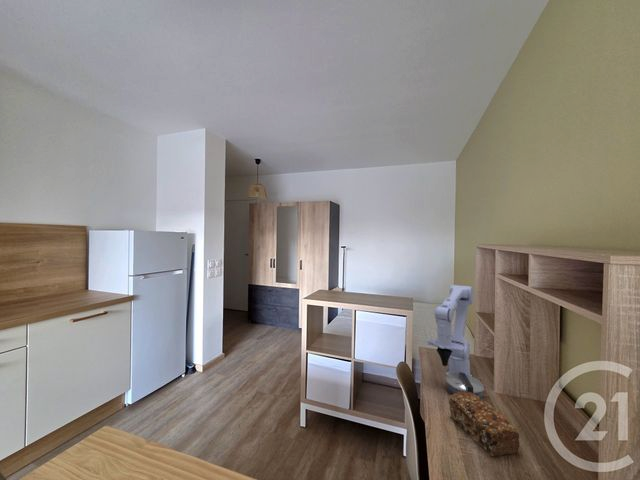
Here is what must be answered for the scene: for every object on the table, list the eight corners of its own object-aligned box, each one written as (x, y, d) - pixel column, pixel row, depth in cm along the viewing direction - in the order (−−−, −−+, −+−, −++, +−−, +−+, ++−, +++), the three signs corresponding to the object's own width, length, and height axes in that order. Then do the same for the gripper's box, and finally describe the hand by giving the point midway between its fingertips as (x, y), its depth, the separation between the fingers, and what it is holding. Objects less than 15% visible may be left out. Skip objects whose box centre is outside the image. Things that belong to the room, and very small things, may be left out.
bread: (448, 417, 91) (447, 389, 91) (473, 413, 93) (473, 386, 93) (491, 460, 73) (490, 426, 73) (522, 454, 74) (521, 421, 75)
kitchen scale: (443, 382, 114) (443, 373, 114) (477, 386, 110) (477, 377, 110) (453, 407, 96) (452, 396, 96) (493, 413, 92) (492, 402, 92)
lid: (442, 373, 114) (442, 366, 114) (477, 377, 110) (476, 370, 110) (451, 392, 99) (450, 384, 99) (490, 397, 95) (490, 389, 95)
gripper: (424, 332, 112) (424, 362, 111) (459, 341, 101) (459, 374, 101) (430, 328, 116) (431, 357, 116) (464, 336, 106) (465, 368, 105)
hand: (445, 365), depth 109 cm, fingers closed
